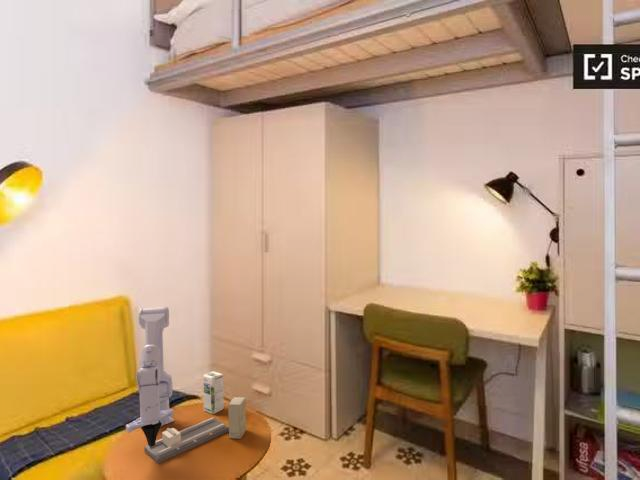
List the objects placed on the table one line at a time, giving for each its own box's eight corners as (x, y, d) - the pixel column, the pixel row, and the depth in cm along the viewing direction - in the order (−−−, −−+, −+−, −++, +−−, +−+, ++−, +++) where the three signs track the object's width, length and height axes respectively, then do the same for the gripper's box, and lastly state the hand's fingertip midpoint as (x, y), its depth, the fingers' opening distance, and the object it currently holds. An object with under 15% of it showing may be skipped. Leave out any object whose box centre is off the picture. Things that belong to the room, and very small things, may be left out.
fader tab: (162, 442, 138) (161, 430, 137) (173, 437, 141) (173, 425, 140) (169, 448, 134) (168, 436, 134) (180, 443, 137) (180, 431, 137)
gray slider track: (144, 451, 136) (144, 443, 136) (213, 421, 155) (213, 415, 154) (158, 463, 129) (157, 455, 129) (228, 431, 148) (228, 424, 148)
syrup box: (203, 410, 163) (202, 375, 162) (214, 405, 168) (213, 370, 167) (213, 414, 160) (211, 378, 159) (224, 408, 165) (223, 373, 164)
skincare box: (240, 439, 142) (240, 405, 141) (228, 438, 143) (227, 404, 142) (246, 429, 148) (245, 397, 148) (234, 429, 149) (233, 396, 148)
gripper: (131, 416, 124) (133, 460, 124) (177, 400, 134) (178, 440, 135) (122, 408, 128) (124, 450, 129) (167, 393, 139) (168, 432, 140)
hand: (151, 445), depth 132 cm, fingers closed
